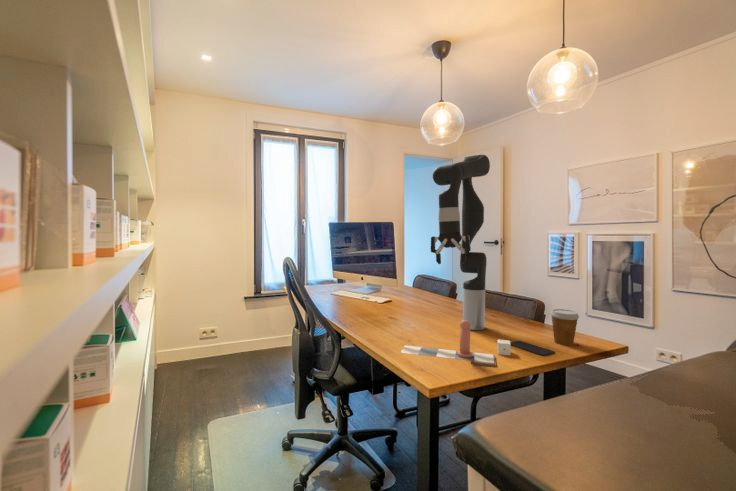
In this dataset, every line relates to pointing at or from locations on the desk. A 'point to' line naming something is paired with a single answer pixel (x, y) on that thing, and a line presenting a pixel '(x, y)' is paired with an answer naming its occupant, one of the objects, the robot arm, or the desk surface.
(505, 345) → the die
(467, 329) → the pawn
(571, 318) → the disposable coffee cup
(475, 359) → the board
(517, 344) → the phone
